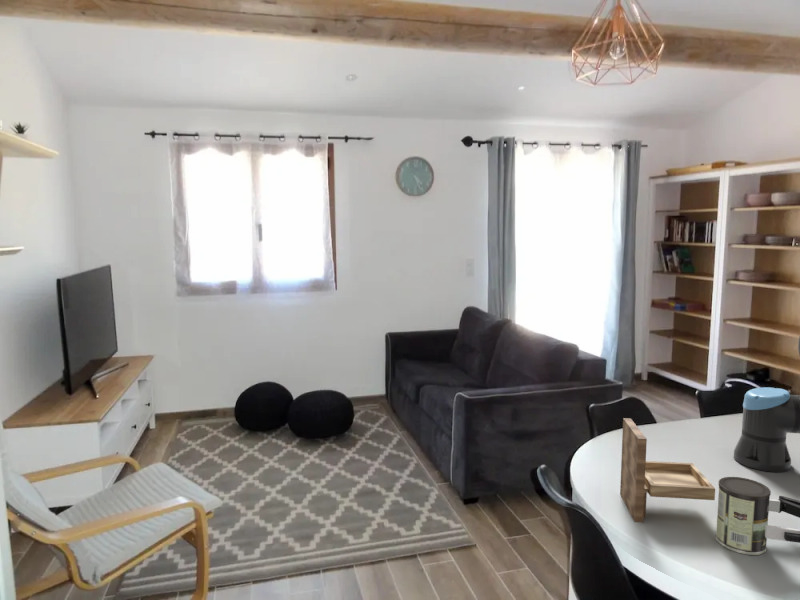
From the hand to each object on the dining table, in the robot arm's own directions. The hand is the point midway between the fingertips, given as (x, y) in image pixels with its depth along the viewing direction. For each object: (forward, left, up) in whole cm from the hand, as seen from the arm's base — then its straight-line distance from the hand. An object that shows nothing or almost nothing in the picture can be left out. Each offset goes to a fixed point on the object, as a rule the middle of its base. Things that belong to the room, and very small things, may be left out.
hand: (756, 516), depth 127 cm
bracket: (+15, -15, -7) cm, 23 cm away
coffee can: (+3, -1, -8) cm, 8 cm away
